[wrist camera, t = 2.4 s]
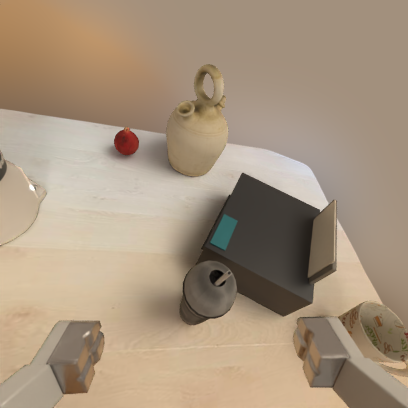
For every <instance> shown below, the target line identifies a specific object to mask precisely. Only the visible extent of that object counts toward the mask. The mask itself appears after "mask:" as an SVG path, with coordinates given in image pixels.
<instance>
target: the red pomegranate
mask: <svg viewBox="0 0 408 408" xmlns="http://www.w3.org/2000/svg"><path fill="white" fill-rule="evenodd" d="M129 130H130V129H129V128H128V127H125V128H124V130H122V131H120V132H118V133H117V134H116V136H115V139H114V144H115V147H116V149H117V151H118V152H120V153H121V154H123V155H131V154H133V153H135V152H136V150H137V149H138V146H139V140H138V138H137V136H136V135H135V134H134V133H133V132H131V131H129Z"/></svg>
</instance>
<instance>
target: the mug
mask: <svg viewBox="0 0 408 408" xmlns="http://www.w3.org/2000/svg"><path fill="white" fill-rule="evenodd" d="M338 319H339V320H340V321H341V323H342V324H343V326H344V327H345V329H346V330H347V332H348V333H349V335H350V336H351V338H352V339H353V341H354V342H355V344H356V345H357V347H358V348H359V350H360V352H361V353H362V355H363V356H364V358H369V359H371V360H372V361H373V362H375V363H376V364H377V365H379V366H380V367H381V368H383V369H384V370H385V371H386V372H389V373H391V374H395V375H398V376H403V377H408V332H407V330H406V328H405V326H404V325H403V323H402V322H401V320H400V319H399V318H398V317H397V316H396V314H394V313H393V312H392V311H391V310H390V309H388V307H386V306H384V305H383V304H381V303H379V302H376V301H366V302H363V303H361V304H359V305H358V306H356V307H354V308H353V309H351V310H349V311H348V312H346V313H344V314H343V315H341V316H339V317H338ZM379 362H389V363H403V362H404V363H406V365H407V367H406V369H396V368H392V367H388V366H385V365H383V364H381V363H379Z"/></svg>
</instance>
